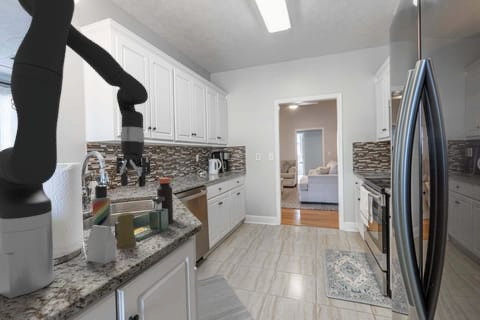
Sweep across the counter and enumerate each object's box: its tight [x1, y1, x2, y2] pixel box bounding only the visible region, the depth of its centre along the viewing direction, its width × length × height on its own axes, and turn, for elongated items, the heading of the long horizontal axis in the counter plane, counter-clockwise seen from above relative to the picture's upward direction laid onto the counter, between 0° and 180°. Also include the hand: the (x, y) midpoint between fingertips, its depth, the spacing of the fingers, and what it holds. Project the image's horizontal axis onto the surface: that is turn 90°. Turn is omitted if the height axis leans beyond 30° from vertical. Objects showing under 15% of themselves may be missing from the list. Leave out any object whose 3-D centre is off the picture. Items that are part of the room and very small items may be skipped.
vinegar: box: [156, 177, 174, 223], centre depth 108 cm, size 7×7×20 cm
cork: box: [116, 211, 137, 249], centre depth 79 cm, size 6×6×11 cm
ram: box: [151, 196, 164, 211], centre depth 96 cm, size 5×5×8 cm
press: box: [114, 208, 170, 242], centre depth 92 cm, size 16×12×8 cm
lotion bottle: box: [91, 184, 112, 229], centre depth 86 cm, size 6×6×20 cm
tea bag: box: [86, 224, 117, 265], centre depth 68 cm, size 4×7×10 cm, turn 71°
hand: (133, 186), depth 82 cm, fingers open, 8 cm apart
